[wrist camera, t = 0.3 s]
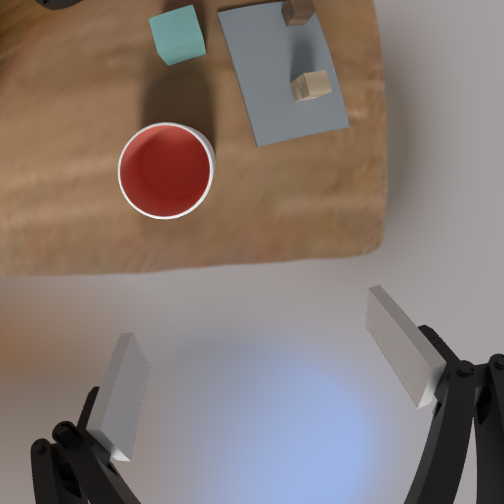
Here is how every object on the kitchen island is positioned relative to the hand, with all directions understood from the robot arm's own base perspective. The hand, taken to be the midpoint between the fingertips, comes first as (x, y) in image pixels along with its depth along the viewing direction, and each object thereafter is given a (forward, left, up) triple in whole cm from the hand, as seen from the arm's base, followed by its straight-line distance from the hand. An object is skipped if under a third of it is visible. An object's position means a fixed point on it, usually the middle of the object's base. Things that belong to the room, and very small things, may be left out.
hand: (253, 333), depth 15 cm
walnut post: (-24, +15, -26) cm, 38 cm away
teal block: (-24, 0, -27) cm, 36 cm away
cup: (-8, -5, -27) cm, 29 cm away
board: (-17, +12, -27) cm, 34 cm away
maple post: (-13, +13, -25) cm, 32 cm away
